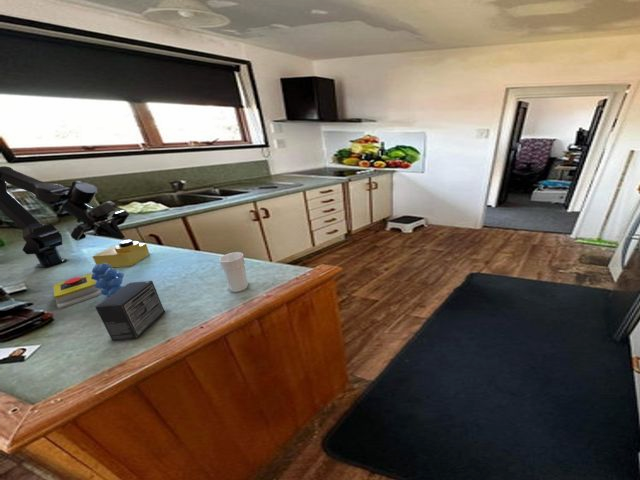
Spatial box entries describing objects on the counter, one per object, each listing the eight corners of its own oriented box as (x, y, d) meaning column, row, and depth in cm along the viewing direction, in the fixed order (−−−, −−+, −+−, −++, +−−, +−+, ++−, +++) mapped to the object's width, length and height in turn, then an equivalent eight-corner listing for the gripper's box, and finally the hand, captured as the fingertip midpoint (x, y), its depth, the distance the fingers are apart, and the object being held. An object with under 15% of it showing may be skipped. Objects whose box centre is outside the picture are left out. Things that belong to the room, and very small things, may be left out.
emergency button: (91, 268, 94) (96, 282, 85) (96, 279, 95) (101, 294, 86) (50, 279, 87) (51, 296, 78) (56, 291, 89) (57, 309, 80)
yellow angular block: (97, 268, 103) (90, 252, 101) (119, 256, 112) (113, 241, 110) (132, 266, 104) (125, 249, 102) (151, 254, 113) (145, 239, 111)
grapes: (142, 292, 86) (129, 259, 82) (117, 305, 80) (101, 269, 76) (119, 286, 90) (105, 254, 86) (93, 298, 84) (77, 264, 80)
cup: (254, 283, 89) (248, 253, 85) (238, 294, 83) (230, 263, 79) (239, 280, 91) (232, 251, 87) (222, 291, 85) (213, 260, 82)
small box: (142, 313, 76) (128, 281, 73) (166, 311, 77) (154, 279, 73) (109, 341, 66) (92, 306, 63) (137, 339, 67) (122, 303, 63)
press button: (117, 248, 104) (115, 244, 104) (125, 244, 108) (124, 240, 107) (128, 247, 104) (126, 243, 104) (136, 243, 108) (134, 239, 108)
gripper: (64, 203, 91) (109, 233, 94) (115, 191, 108) (152, 216, 112) (51, 226, 93) (96, 254, 97) (104, 210, 111) (140, 234, 115)
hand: (123, 238), depth 105 cm, fingers closed
